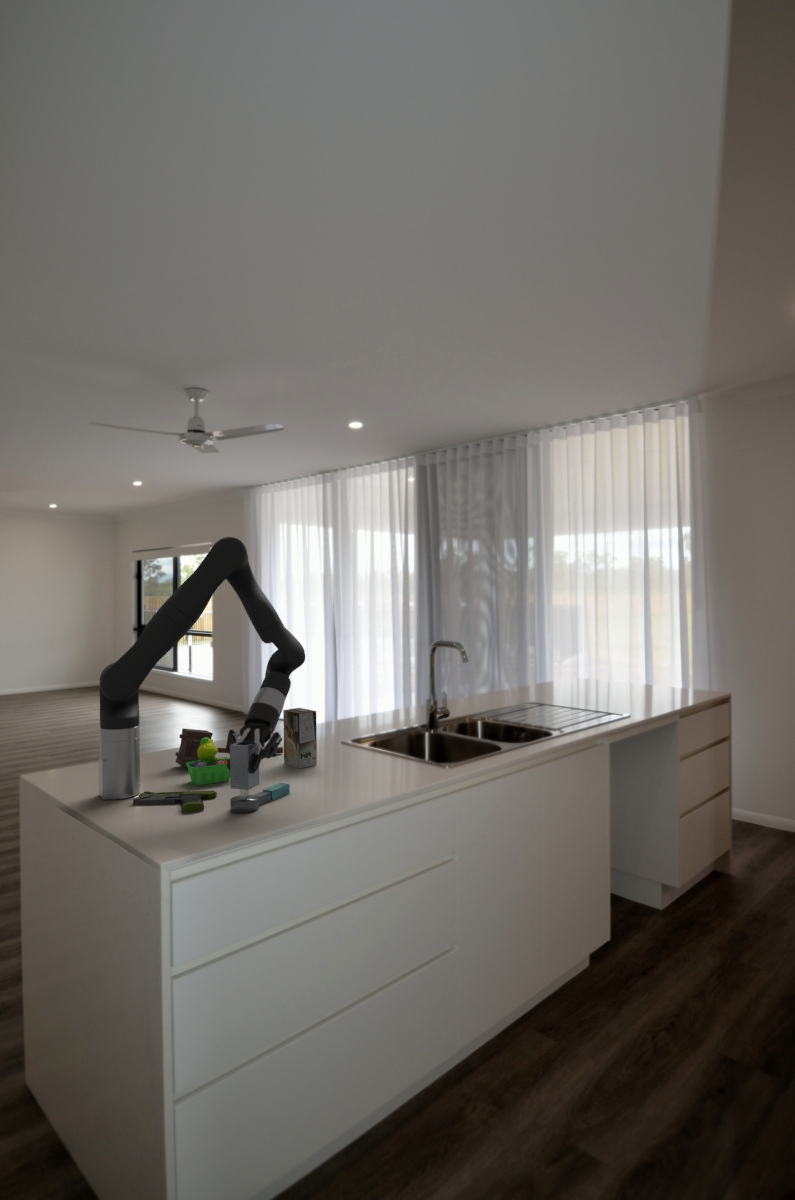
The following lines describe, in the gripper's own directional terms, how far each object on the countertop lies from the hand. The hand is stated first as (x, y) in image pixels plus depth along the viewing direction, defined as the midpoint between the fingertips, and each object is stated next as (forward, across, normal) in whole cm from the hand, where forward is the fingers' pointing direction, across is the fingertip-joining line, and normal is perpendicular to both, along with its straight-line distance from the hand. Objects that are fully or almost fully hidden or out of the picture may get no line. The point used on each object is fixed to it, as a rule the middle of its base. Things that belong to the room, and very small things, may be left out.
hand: (240, 770), depth 158 cm
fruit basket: (-8, -23, +22) cm, 33 cm away
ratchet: (+1, +1, +12) cm, 12 cm away
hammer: (-23, -29, +37) cm, 53 cm away
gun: (+7, -19, +7) cm, 22 cm away
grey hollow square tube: (+2, 0, +4) cm, 4 cm away
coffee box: (-25, -8, +39) cm, 47 cm away
